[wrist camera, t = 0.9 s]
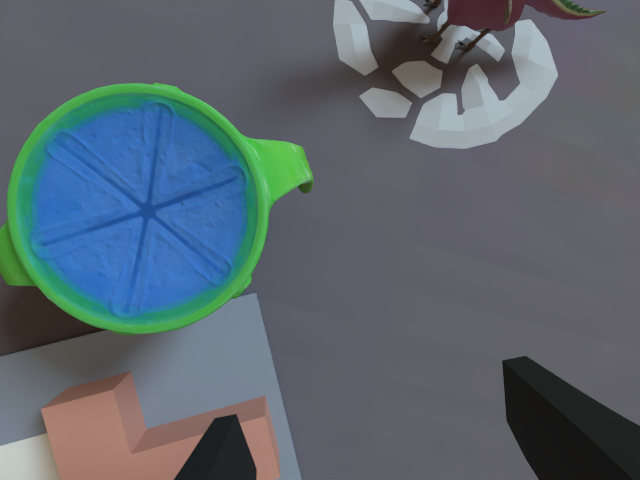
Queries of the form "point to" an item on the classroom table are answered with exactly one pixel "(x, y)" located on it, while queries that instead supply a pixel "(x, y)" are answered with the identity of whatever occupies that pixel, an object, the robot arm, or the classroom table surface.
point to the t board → (143, 381)
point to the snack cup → (142, 207)
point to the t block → (141, 434)
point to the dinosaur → (421, 78)
